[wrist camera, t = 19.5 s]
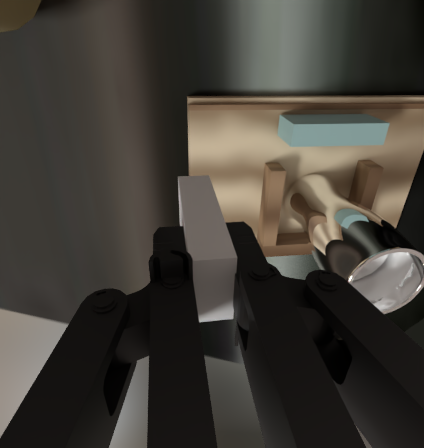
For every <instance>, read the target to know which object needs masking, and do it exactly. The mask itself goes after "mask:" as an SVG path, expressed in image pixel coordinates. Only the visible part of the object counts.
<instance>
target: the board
mask: <svg viewBox="0 0 424 448" xmlns="http://www.w3.org/2000/svg"><path fill="white" fill-rule="evenodd" d="M187 103H188V153H189V176H205V175H209V177H210V179H211V182H212V185H213V188H214V191H215V194H216V197H217V200H218V203H219V206H220V208H221V211H222V214H223V217H224V220H225V223H226V222H243V221H244V222H245V223H246V224H247V225H249V226H250V227H251V228H252V230H253V232H254V234H255V237H256V239H257V241H258V243H259V245H260V247H261V249H262V252H263V254H264V256H265V257H273V256H289V255H305V254H312V252H311V249H310V247H309V244H308V241H307V238H306V235H305V233H304V230H303V228H302V227H301V225H300V224H299V223H297V222H296V221H295V220H293V219H292V218H291V217H290V216H289V214H288V213H287V211H286V208H285V197H286V194H287V192H288V190H289V188H290V187H291V186H292V185H293V184H294V183H295V182H296V181H297V180H298V179H300V178H302V177H304V176H306V175H310V174H322V175H325V176H327V177H329V178H330V179H331V180H332V181H333V182H334V183H335V185H336V186H337V188H338V190H339V192H340V193H341V194H342V195H343V196H345V197H347V198H348V199H350V200H352V201H354V202H356V203H358V204H360V205H362V206H364V207H366V208H368V209H370V210H372V211H373V212H375V213H377V214H378V215H380V216H381V217H382V218H384V219H385V220H386V221H388V222H389V223H390V224H391V225H393V226H394V227H395V228H396V226H397V224H398V221H399V218H400V215H401V212H402V210H403V207H404V204H405V201H406V198H407V195H408V193H409V190H410V187H411V184H412V181H413V179H414V176H415V173H416V170H417V167H418V164H419V162H420V159H421V156H422V153H423V150H424V95H395V96H187ZM294 114H368V115H370V116H373V117H375V118H378V119H381V120H383V121H386V122H388V123H390V124H389V127H388V131H387V134H386V138H385V141H384V145H359V146H313V147H290V146H289V145H288V144H287V143H286V142H285V141H283V140H282V139H281V138H280V137H279V136H278V135H277V134H278V126H279V118H280V115H294Z"/></svg>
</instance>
